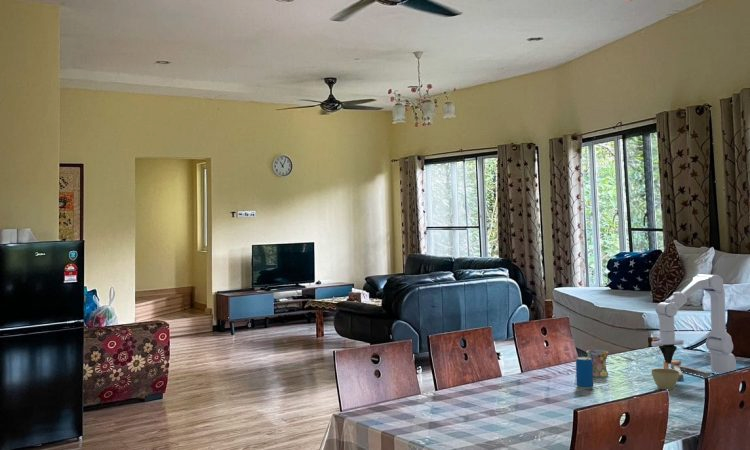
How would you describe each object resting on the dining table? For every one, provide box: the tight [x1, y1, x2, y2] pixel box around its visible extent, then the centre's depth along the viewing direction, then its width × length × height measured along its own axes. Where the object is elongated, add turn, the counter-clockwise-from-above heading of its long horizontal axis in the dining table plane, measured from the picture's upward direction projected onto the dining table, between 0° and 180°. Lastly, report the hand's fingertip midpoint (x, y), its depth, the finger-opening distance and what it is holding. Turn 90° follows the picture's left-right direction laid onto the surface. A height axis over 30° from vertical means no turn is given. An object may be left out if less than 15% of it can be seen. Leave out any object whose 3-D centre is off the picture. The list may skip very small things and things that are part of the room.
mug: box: [586, 349, 609, 378], centre depth 269 cm, size 12×9×11 cm
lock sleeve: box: [663, 359, 682, 369], centre depth 277 cm, size 7×2×4 cm, turn 104°
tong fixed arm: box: [670, 364, 711, 379], centre depth 268 cm, size 4×21×2 cm, turn 14°
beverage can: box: [575, 356, 594, 390], centre depth 249 cm, size 6×6×12 cm
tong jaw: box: [674, 367, 684, 380], centre depth 264 cm, size 16×3×2 cm, turn 159°
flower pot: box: [651, 368, 679, 391], centre depth 243 cm, size 10×10×7 cm
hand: (668, 362), depth 259 cm, fingers closed
